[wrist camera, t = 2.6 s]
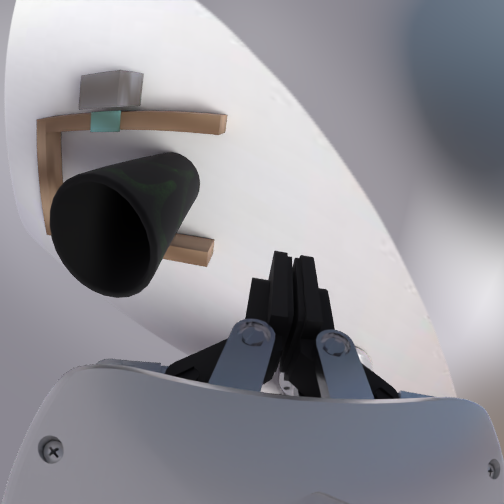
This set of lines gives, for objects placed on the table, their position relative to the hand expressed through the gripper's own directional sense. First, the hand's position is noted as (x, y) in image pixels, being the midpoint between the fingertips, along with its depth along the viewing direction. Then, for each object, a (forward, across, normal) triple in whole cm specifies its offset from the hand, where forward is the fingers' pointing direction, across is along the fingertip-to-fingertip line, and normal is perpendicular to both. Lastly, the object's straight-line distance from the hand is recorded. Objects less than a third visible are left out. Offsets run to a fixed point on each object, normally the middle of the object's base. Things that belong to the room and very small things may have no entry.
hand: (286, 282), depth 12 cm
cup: (+13, +10, +1) cm, 17 cm away
